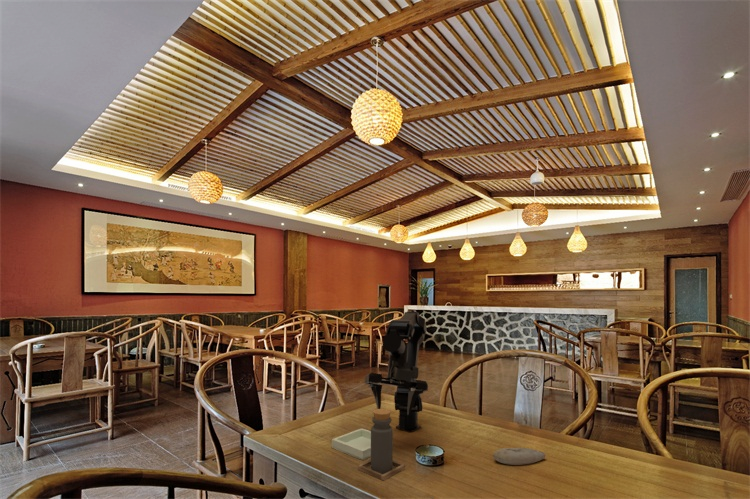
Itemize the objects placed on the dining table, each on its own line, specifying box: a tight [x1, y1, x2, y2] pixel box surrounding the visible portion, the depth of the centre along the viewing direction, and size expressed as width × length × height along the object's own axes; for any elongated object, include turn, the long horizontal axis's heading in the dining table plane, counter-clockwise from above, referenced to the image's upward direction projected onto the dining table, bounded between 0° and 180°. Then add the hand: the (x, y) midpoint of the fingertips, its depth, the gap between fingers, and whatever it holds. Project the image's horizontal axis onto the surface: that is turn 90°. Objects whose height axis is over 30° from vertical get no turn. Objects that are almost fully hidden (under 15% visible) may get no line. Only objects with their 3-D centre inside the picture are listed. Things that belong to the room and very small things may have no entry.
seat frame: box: [357, 459, 406, 481], centre depth 108 cm, size 9×9×1 cm
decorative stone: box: [492, 447, 546, 466], centre depth 114 cm, size 6×16×3 cm, turn 101°
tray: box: [331, 428, 371, 461], centre depth 123 cm, size 13×13×2 cm
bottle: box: [370, 408, 394, 474], centre depth 109 cm, size 6×6×15 cm
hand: (393, 412), depth 120 cm, fingers open, 9 cm apart
